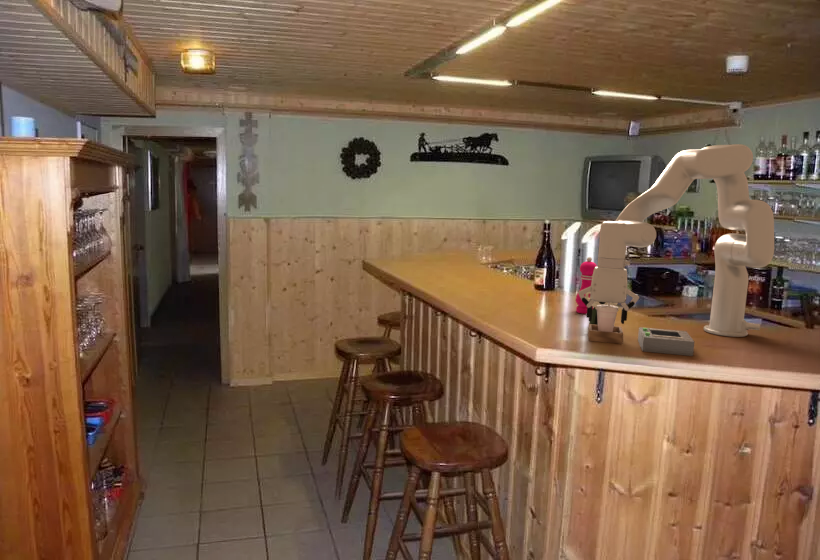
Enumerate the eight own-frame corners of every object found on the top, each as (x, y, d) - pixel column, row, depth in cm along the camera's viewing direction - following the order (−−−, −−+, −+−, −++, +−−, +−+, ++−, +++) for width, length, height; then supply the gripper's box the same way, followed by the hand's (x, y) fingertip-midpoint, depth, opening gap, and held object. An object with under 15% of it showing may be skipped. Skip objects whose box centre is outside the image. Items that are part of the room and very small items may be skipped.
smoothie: (604, 342, 183) (608, 294, 181) (588, 336, 189) (592, 290, 187) (620, 340, 186) (624, 293, 184) (604, 335, 192) (608, 289, 190)
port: (684, 344, 184) (686, 329, 183) (692, 356, 171) (694, 339, 170) (637, 340, 187) (639, 325, 186) (642, 351, 174) (643, 335, 174)
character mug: (578, 325, 204) (581, 286, 202) (587, 322, 209) (590, 283, 207) (611, 331, 197) (614, 290, 195) (619, 328, 202) (623, 288, 200)
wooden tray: (620, 336, 191) (620, 326, 191) (622, 343, 182) (623, 333, 182) (587, 333, 193) (588, 323, 193) (588, 340, 184) (589, 330, 184)
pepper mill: (573, 313, 224) (577, 257, 221) (576, 309, 231) (580, 255, 228) (594, 315, 222) (599, 258, 218) (596, 311, 228) (601, 256, 225)
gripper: (641, 264, 186) (635, 321, 188) (580, 260, 190) (575, 316, 193) (643, 267, 178) (638, 327, 181) (580, 263, 183) (575, 321, 185)
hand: (606, 321), depth 187 cm, fingers open, 8 cm apart
